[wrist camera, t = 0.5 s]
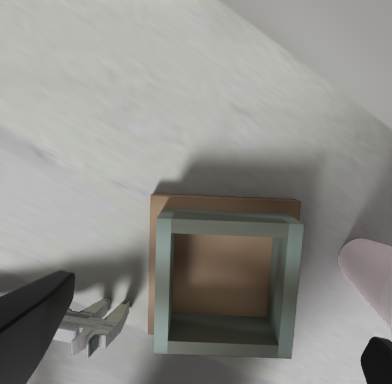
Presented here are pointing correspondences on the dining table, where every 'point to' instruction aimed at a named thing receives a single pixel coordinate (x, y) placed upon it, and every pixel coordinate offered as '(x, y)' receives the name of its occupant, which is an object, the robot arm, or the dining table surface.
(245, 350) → the dock
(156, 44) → the dining table surface
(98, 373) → the dining table surface
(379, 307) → the smoothie
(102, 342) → the caliper
